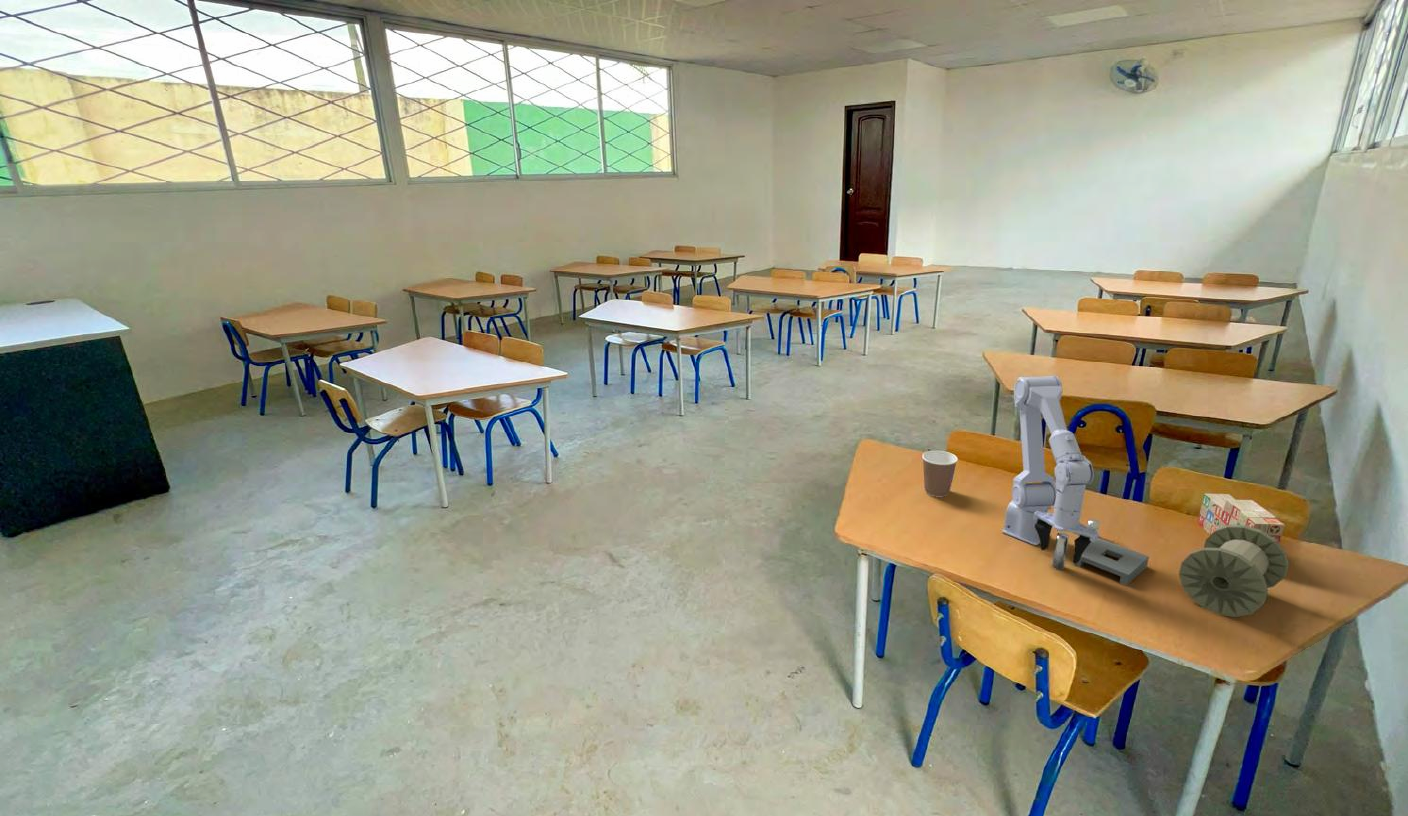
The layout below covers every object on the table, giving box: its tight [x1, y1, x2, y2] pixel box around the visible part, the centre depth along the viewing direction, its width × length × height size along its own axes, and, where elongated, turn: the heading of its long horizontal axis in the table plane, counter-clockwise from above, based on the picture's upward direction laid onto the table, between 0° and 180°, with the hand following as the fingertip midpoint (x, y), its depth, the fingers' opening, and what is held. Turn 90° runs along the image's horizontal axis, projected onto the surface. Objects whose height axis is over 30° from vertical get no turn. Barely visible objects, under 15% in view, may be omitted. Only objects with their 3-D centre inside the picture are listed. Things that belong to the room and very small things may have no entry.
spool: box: [1178, 525, 1290, 618], centre depth 144 cm, size 16×15×15 cm
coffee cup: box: [921, 450, 959, 498], centre depth 198 cm, size 10×10×12 cm
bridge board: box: [1073, 537, 1150, 587], centre depth 159 cm, size 12×12×3 cm
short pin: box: [1086, 518, 1101, 533], centre depth 172 cm, size 3×3×4 cm
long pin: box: [1051, 532, 1070, 571], centre depth 159 cm, size 3×3×9 cm
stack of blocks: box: [1197, 493, 1285, 544], centre depth 165 cm, size 21×6×12 cm, turn 170°
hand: (1059, 555), depth 159 cm, fingers open, 7 cm apart
